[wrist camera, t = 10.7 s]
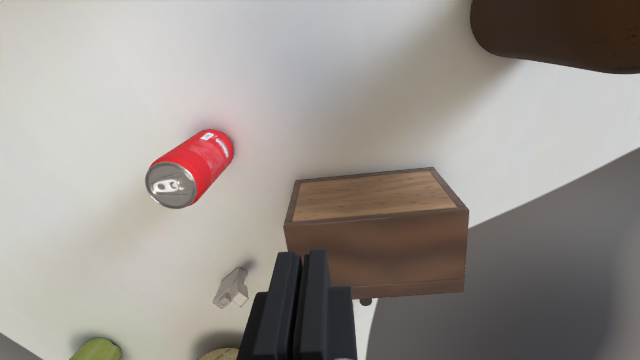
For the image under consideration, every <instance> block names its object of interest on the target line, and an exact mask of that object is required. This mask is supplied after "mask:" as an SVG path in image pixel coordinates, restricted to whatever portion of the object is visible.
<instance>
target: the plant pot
mask: <svg viewBox="0 0 640 360" xmlns="http://www.w3.org/2000/svg"><path fill="white" fill-rule="evenodd" d="M120 357H121V351H120V349H119V347H118V346H115V345H113V344H112V343H111V341H109V340H107V339H103V338H94V339H91V340H90V341H88V342H87V343H86V344H85V345H83V346H82V347H81V348H80V349H79V350H78V351H77V352H76V353H75V354H74V355H73V356H72V357H71V358H70V359H69V360H119V359H120Z"/></svg>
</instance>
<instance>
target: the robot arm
mask: <svg viewBox="0 0 640 360" xmlns="http://www.w3.org/2000/svg"><path fill="white" fill-rule="evenodd" d="M236 360H357V348H356V336H355V324H354V313H353V303H352V293H351V286H339V287H331V280H330V273H329V265H328V258H327V251H326V249H314V250H310V254H305V255H304V262H303V264H302V259H301V255H296V254H295V252H294V251H289V252H279V253H278V255H277V259H276V263H275V267H274V271H273V275H272V278H271V282H270V286H269V290H268V292H258V293H257V294H256V296H255V299H254V302H253V305H252V309H251V312H250V315H249V318H248V322H247V325H246V328H245V332H244V335H243V338H242V342H241V345H240V348H239V352H238V355H237V358H236Z"/></svg>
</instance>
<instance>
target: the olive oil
mask: <svg viewBox="0 0 640 360" xmlns="http://www.w3.org/2000/svg"><path fill="white" fill-rule="evenodd" d="M471 27H472V31H473V34H474V36H475V38H476V40H477V42H478V43H479V44H480V45H481V46H482V47H483V48H484V49H485V50H486V51H488V52H490V53H492V54H494V55H497V56H501V57H509V58H517V59H525V60H532V61H538V62H544V63H551V64H557V65H563V66H568V67H574V68H580V69H585V70H591V71H597V72H602V73H610V74H638V73H640V0H473V3H472V7H471Z"/></svg>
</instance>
